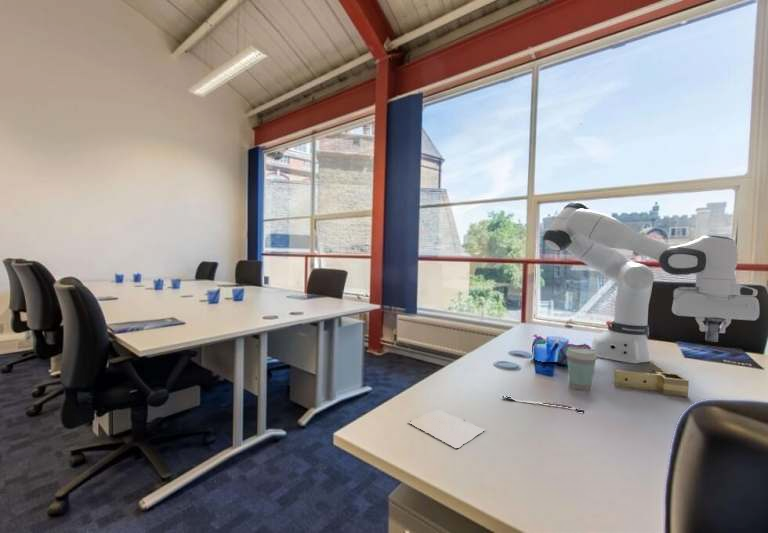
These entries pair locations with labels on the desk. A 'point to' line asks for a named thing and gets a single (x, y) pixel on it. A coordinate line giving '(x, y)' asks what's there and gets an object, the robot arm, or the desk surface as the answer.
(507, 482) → the desk surface
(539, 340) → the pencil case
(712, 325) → the hinge pin
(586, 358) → the coffee cup
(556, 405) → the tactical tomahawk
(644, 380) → the hinge
